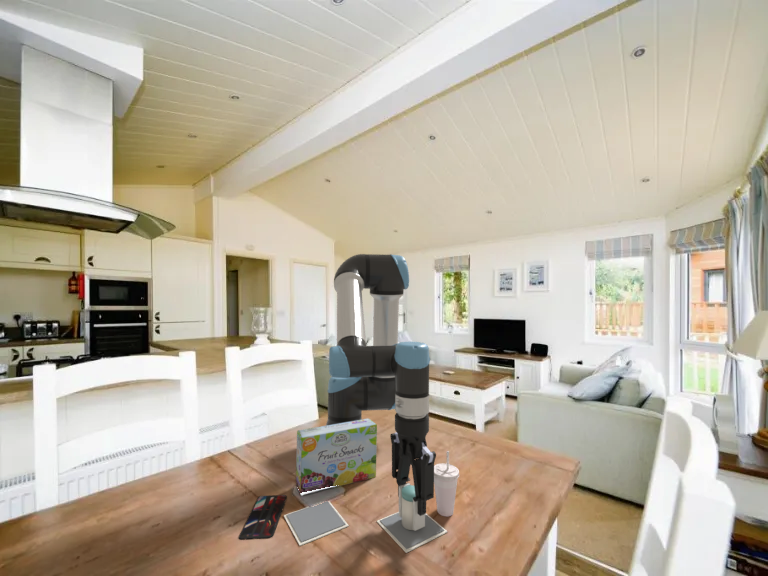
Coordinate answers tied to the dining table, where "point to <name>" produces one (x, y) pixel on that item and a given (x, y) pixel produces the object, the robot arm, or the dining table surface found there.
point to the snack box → (336, 454)
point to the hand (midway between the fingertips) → (411, 520)
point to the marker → (407, 506)
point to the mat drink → (411, 531)
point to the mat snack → (314, 522)
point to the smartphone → (263, 517)
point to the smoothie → (445, 487)
